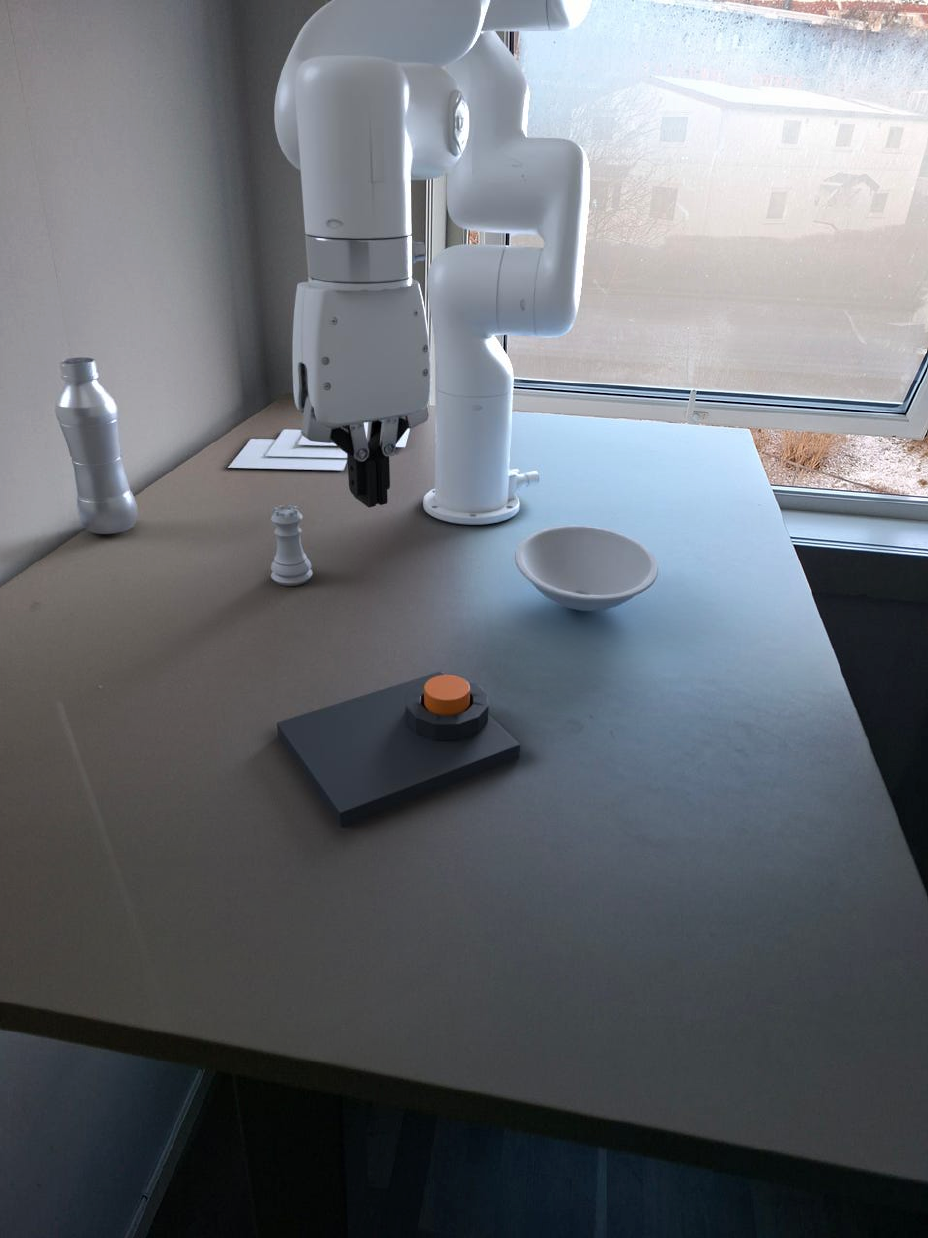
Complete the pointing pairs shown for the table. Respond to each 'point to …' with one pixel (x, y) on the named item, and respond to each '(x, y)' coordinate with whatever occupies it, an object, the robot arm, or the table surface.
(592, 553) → the dish
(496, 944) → the table surface
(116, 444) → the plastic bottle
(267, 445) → the paper stack
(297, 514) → the rook chess piece
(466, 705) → the button
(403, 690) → the scale
